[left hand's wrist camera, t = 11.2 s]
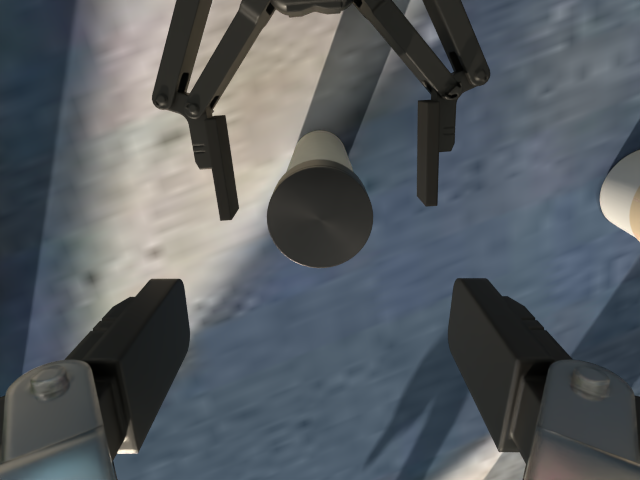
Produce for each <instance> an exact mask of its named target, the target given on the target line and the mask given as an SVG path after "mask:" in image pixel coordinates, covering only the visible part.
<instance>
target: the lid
mask: <svg viewBox="0 0 640 480" xmlns="http://www.w3.org/2000/svg"><path fill="white" fill-rule="evenodd" d="M267 224H268V230H269V233H270V236H271V238H272V240H273V242H274V243H275V245H276V246H277V248H278V249H279V250H280V251H281V252H282V253H283V254H284V255H285V256H286V257H288V258H289V259H291V260H292V261H294V262H296V263H298V264H301V265H304V266H308V267H313V268H327V267H333V266H337V265H339V264H342V263H344V262H346V261H348V260H349V259H351V258H352V257H354V256H355V255H356V254H357V253H358V252H359V251H360V250H361V249H362V248H363V246H364V245H365V243H366V242H367V240H368V238H369V236H370V233H371V230H372V225H373V210H372V205H371V202H370V199H369V197H368V194H367V192H366V190H365V187H364V185H363V183H362V182H361V180H360V179H359V178H358V176H357V175H356V174H355V173H354V172H353V171H351V170H350V169H349V168H348V167H346V166H344V165H342V164H340V163H338V162H335V161H331V160H324V159H316V160H309V161H305V162H302V163H300V164H298V165H296V166H294V167H293V168H291V169H290V170H289V171H287V172H286V173H285V174H284V175H283V176H282V178H281V179H280V180H279V182H278V184H277V185H276V187H275V190H274V192H273V194H272V197H271V199H270V202H269V206H268V210H267Z"/></svg>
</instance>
